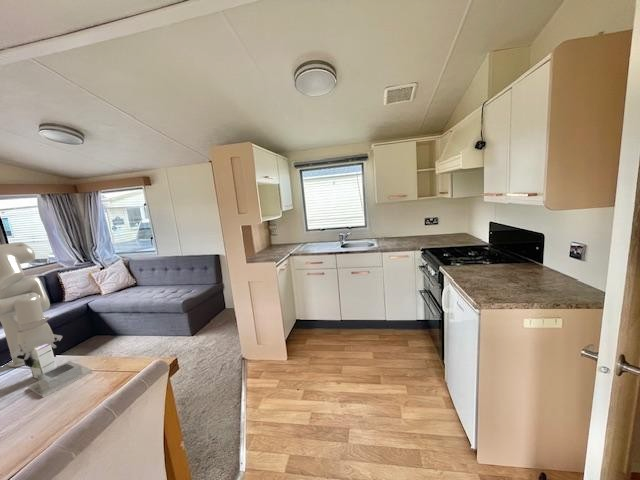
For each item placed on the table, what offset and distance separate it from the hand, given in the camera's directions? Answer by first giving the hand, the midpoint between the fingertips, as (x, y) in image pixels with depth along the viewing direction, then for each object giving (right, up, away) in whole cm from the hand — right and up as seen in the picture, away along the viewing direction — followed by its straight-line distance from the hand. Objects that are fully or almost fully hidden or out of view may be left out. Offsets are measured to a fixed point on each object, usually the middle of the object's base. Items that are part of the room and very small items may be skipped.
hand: (42, 360), depth 114 cm
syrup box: (0, -7, +1) cm, 7 cm away
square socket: (+13, -7, -4) cm, 15 cm away
